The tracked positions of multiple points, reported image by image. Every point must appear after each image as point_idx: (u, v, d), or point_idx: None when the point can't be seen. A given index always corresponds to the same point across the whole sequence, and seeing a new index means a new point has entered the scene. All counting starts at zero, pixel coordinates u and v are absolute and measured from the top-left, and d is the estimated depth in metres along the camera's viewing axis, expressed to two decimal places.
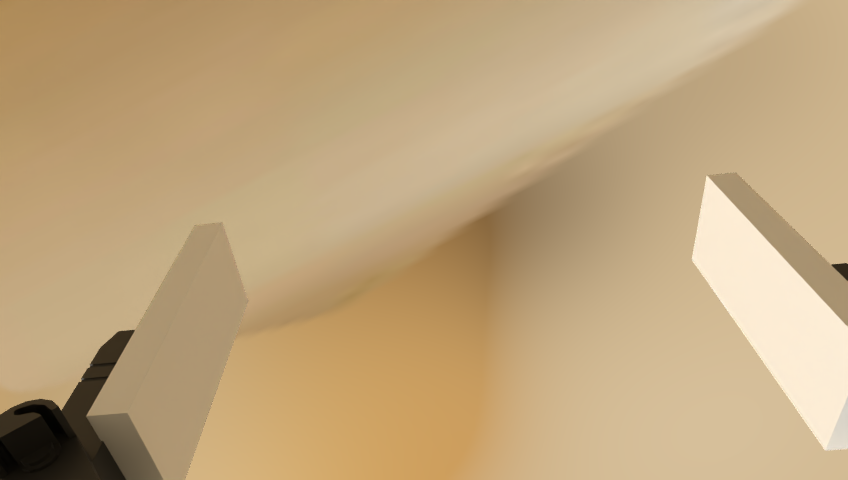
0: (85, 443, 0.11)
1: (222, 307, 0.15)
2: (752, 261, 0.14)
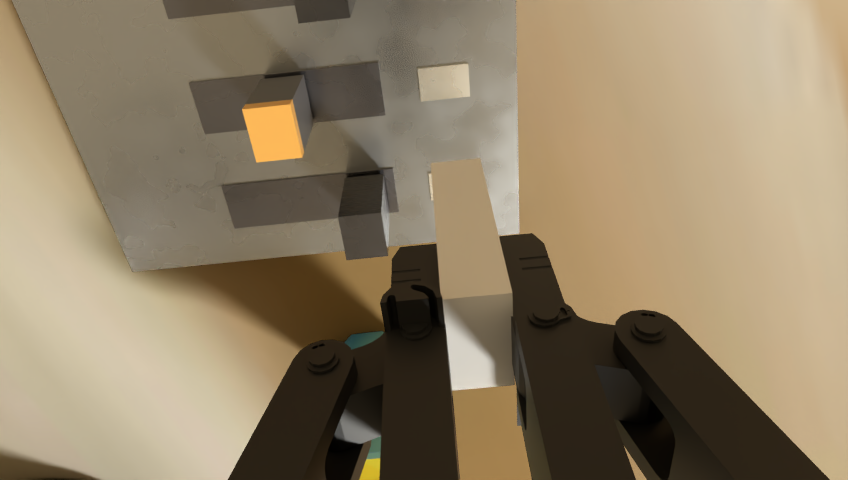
0: None
1: None
2: None
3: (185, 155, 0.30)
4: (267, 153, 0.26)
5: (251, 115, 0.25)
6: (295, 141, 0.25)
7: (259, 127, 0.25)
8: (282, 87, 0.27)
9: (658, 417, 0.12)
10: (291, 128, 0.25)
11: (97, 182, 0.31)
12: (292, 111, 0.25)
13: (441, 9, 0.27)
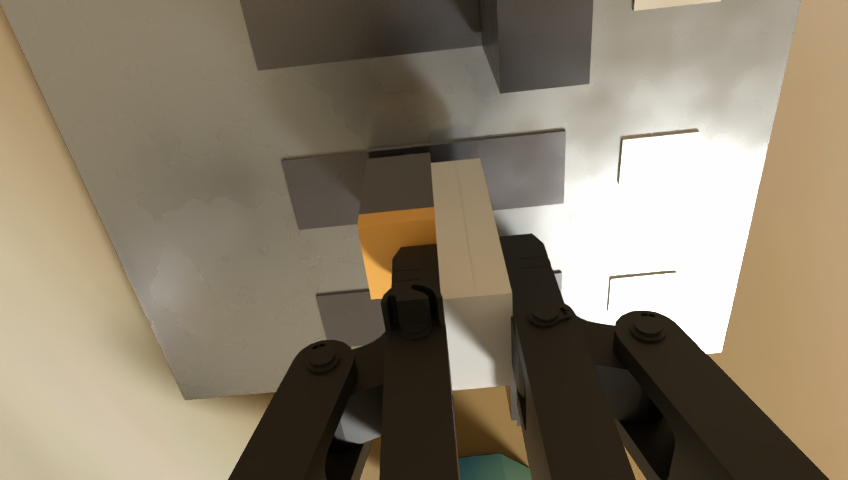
0: None
1: None
2: None
3: (268, 256, 0.21)
4: (390, 287, 0.16)
5: (371, 235, 0.15)
6: None
7: (381, 251, 0.16)
8: (406, 178, 0.17)
9: (658, 417, 0.12)
10: None
11: (141, 291, 0.22)
12: (435, 226, 0.16)
13: (675, 54, 0.17)
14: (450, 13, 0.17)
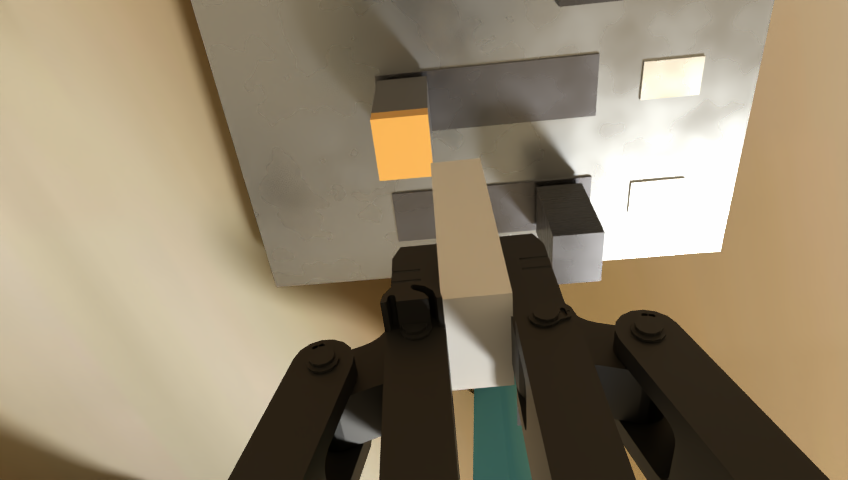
0: None
1: None
2: None
3: (356, 158, 0.26)
4: (393, 171, 0.22)
5: (380, 126, 0.21)
6: (428, 157, 0.21)
7: (388, 140, 0.21)
8: (407, 92, 0.23)
9: (658, 417, 0.12)
10: (425, 142, 0.21)
11: (252, 188, 0.27)
12: (428, 121, 0.21)
13: None
14: None
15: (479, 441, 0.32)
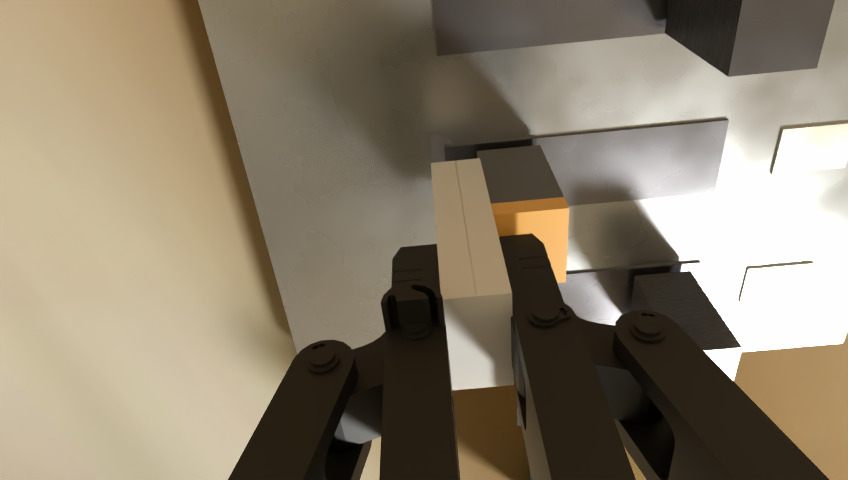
0: None
1: None
2: None
3: (414, 243, 0.21)
4: None
5: (504, 223, 0.16)
6: (561, 260, 0.16)
7: None
8: (525, 169, 0.17)
9: (658, 417, 0.12)
10: (560, 241, 0.16)
11: (283, 277, 0.22)
12: (567, 216, 0.16)
13: (847, 44, 0.18)
14: (636, 1, 0.17)
15: None
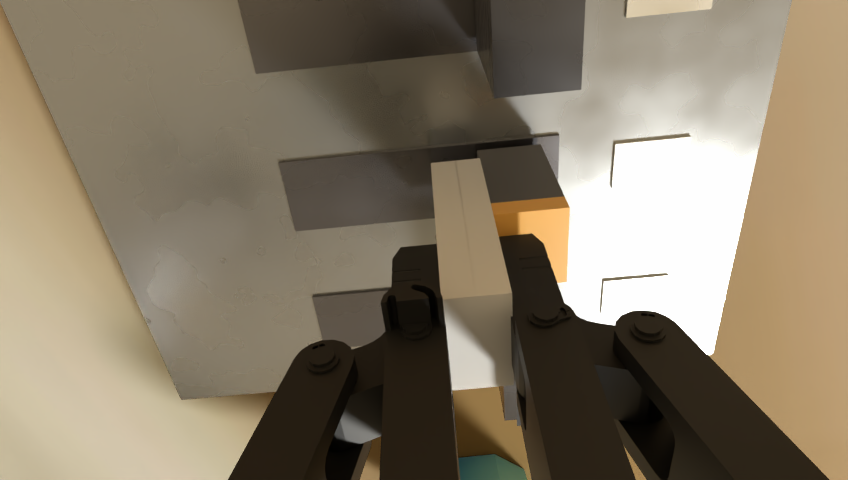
0: None
1: None
2: None
3: (265, 257, 0.21)
4: None
5: (504, 223, 0.16)
6: (562, 259, 0.16)
7: None
8: (526, 169, 0.17)
9: (658, 417, 0.12)
10: (561, 241, 0.16)
11: (139, 291, 0.22)
12: (567, 216, 0.16)
13: (666, 60, 0.18)
14: (446, 19, 0.17)
15: None
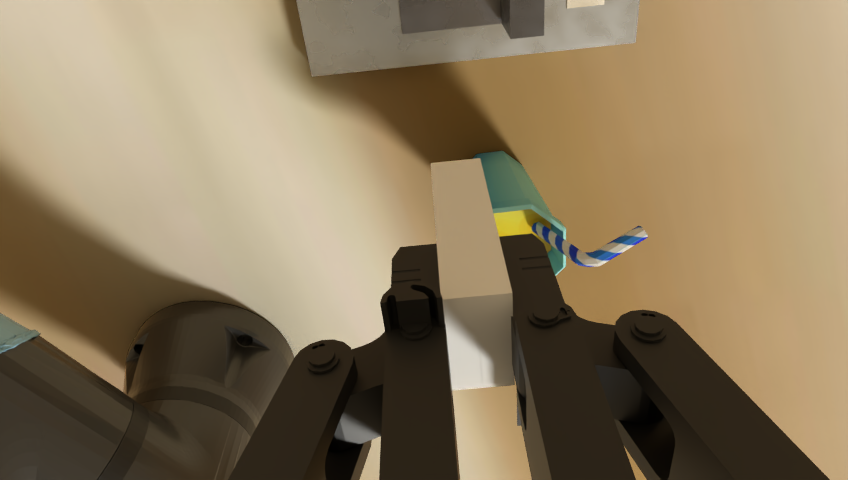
0: None
1: None
2: None
3: None
4: None
5: None
6: None
7: None
8: None
9: (658, 417, 0.12)
10: None
11: None
12: None
13: None
14: None
15: None
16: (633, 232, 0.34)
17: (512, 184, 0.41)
